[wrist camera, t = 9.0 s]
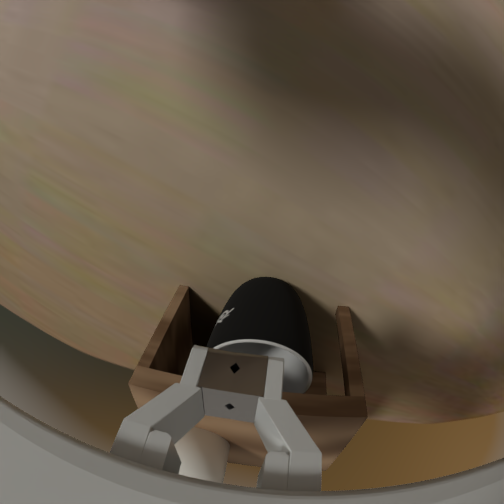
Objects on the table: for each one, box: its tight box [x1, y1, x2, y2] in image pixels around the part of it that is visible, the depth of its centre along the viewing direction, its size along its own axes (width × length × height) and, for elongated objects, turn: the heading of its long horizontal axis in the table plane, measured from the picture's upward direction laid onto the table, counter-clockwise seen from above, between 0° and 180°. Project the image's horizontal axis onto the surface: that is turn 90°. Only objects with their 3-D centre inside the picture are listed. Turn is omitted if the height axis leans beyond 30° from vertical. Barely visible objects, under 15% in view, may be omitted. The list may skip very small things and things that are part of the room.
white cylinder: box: [174, 427, 230, 483], centre depth 20 cm, size 6×6×7 cm
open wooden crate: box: [129, 285, 368, 471], centre depth 28 cm, size 12×18×14 cm, turn 86°
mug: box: [206, 277, 313, 394], centre depth 28 cm, size 12×9×10 cm
